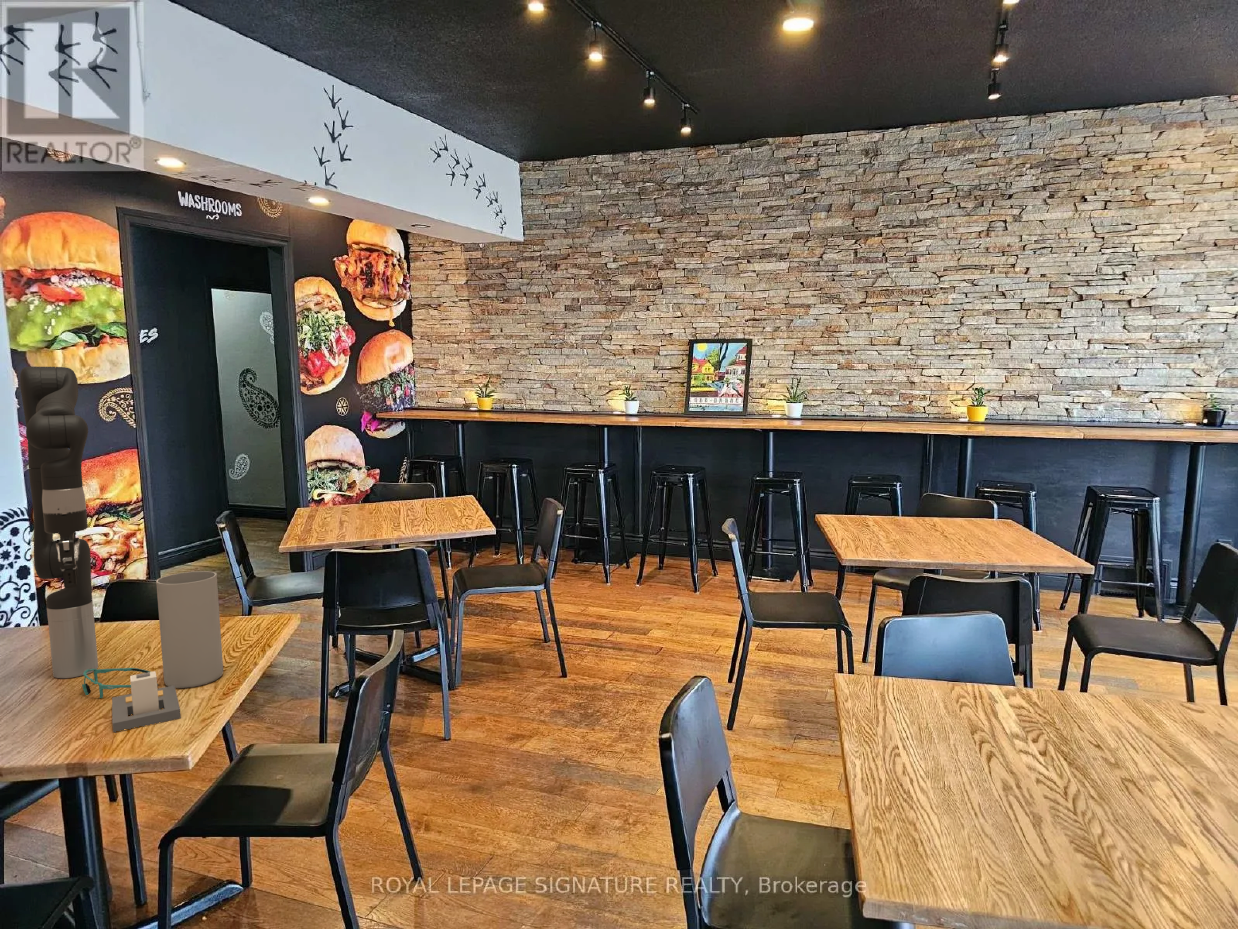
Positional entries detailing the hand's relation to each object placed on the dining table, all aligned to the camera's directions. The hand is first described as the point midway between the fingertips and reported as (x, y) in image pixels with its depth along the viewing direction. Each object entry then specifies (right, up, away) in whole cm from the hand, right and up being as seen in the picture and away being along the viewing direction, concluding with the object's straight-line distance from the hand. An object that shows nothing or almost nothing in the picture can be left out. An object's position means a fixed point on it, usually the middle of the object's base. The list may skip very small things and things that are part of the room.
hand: (71, 583), depth 166 cm
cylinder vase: (+16, -26, +19) cm, 36 cm away
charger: (+17, -28, -2) cm, 33 cm away
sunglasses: (+1, -27, +16) cm, 31 cm away
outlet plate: (+16, -28, +1) cm, 32 cm away
